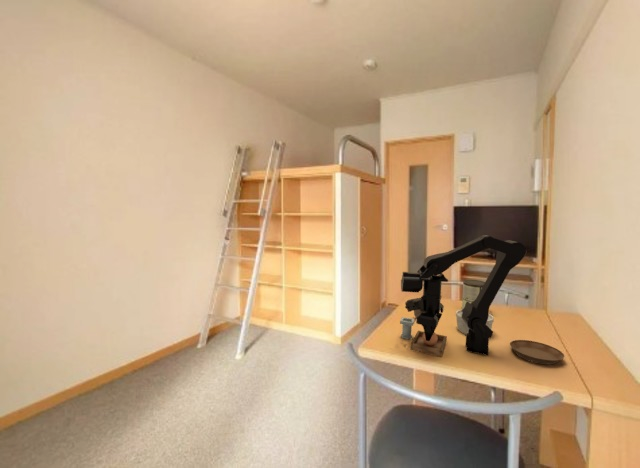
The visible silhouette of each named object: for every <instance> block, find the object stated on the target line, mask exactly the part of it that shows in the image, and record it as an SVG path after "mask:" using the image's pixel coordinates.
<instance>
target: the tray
mask: <svg viewBox="0 0 640 468" xmlns="http://www.w3.org/2000/svg"><path fill="white" fill-rule="evenodd" d="M423 334H424V330H422V331H421V330H417V332H416V333H415V335H414V337H413V338H412V339H411V340H412V341H411V343H410V346H409V347H410V349H409V351H413V352H417V353H422V354H425V355H431V356H435V357H439V358H442V357H443V354H444V352H445V349H446V344H447V340H448V338H447V337H448V336H447V335H442V334H438V333H436V335H437V337H438V341H437V343H436V344H435V345H433V346H429V345H427V344H425V343H424V341H423Z"/></svg>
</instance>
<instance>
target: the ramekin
mask: <svg viewBox="0 0 640 468" xmlns="http://www.w3.org/2000/svg"><path fill="white" fill-rule="evenodd" d="M461 310H463V309H462V308H461V309H458V310H456V312H455V317H456V327H457V329H458V331H460V333H462V334H464V335H466V334H467V333H468V331H469V329H470V328H468V326H467V324H466V323H465V322H464V321H463V319H462V313H463V312H462V311H461ZM493 324H494V316H493V315H492V314H490V313H489V315H488V320H487V323H486V325H487V326H488V327H489V328H490V329H491V330H492V328H493Z"/></svg>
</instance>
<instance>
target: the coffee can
mask: <svg viewBox="0 0 640 468" xmlns="http://www.w3.org/2000/svg"><path fill="white" fill-rule="evenodd" d="M485 282H486V281H483V280H479V279H464V280H463V281H462V283H463V285H462V300H461V301H462V303H461V310H462V309H464V307H465V305H466V302H469V303H472V302H473V301H475V300H476V298H477V296H478V294H479V293H480V291H481V289H482V287H483V285H484V284H485Z"/></svg>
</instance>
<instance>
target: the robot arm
mask: <svg viewBox="0 0 640 468" xmlns="http://www.w3.org/2000/svg"><path fill="white" fill-rule="evenodd" d="M487 249H491V250H494V251H496V255H495V264H494V266H493V267H492V269H491V271H490V273H489V275H488V276H487V278H486V280H485V281H484V282H485V284H484V285H483V287H482V289H481V291H480V293H479V294H478V296H477V298H476V300H475V301H473V302H472V303H469V302H466V305H465V307H464V309H463V310H462V309H460V310H461V311H462V312H463V313H462V319H463V321H464V322H465V323H466V324H467V326H468V328H470V329H469V331H468V333H467V334H465V347H466V351H467V352H470V353H474V354H479V355H485V356H489V344H490V343H489V341H490V339H491V338H492V336H493V333H494V330H492V329H490V328H489V327H488V326H487V325H486V323H487V320H488V315H489V314H490V313H489V312H490V307H491V305H492V303H493V302H494V299H495V298H496V296H497V294H498V293H499V291H500V289H501V288H502V286H503V284H504V282H505V280H506V278H507V277H508V275H509V273H510V272H511V270H512V269H513V268H515V267H516V266H517V265H519V264H520V263H521V261H522V260H523V259H524V258H525V257H526V254H527V253H528V251H527V249H526V246H525V245H524V244H523V243H522V242H520V241H519V242H518V241H514V240H510V239H509V240H508V239H507V240H501V239H498V238H495V237H493V236H491V235H486V234H484V235H480V236H479V237H477V238H474V239H473V240H471V241H468V242H466V243H464V244H462V245H460V246H458V247H455V248H453V249H451V250H448V251H445V252H441V253H436V254H432V255H428V256H426V257H425V258H424V261H423V264H422V265H421V267H419V269H418V270H417V271H416V272H408V271H402V275H401V280H400V291H401V292H402V293H404V292H405V293H420V292H421V291H422V296H420V297H416V298H412V299H408V300H406V301H405V303H404V304H405V307H404V308H405V309H406V311H407V312H412V311H413V312H414V310H419V309H420V311H421V313H420V314H419V315H418V316H417V318H416V320H415V321H416V323H415V324H417V325H421V326H422V328H423V332H424V333H425V337H426V340H427V341H430V339H431V337H432V335H433V333H434V332H435V331H436V329H437V327H438V325H439V322H440V320H441V318H442V315H443V314H442V313H443V312H444V310H445V309H444V307H445V305H443V303H442V302H441V300H442V282H443V283H445V282H446V283H448V282H449V279H448V278H447V277H446V276H445V275H444V272H445V271H447V270H448V269H450V268H451V267H452V265H455V264H456V263H458V262H460V261H462V260H465V259H467V258H469V257H471V256H473V255H476V254H478V253H481V252H482V251H484V250H487ZM422 312H424V313H422Z"/></svg>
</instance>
